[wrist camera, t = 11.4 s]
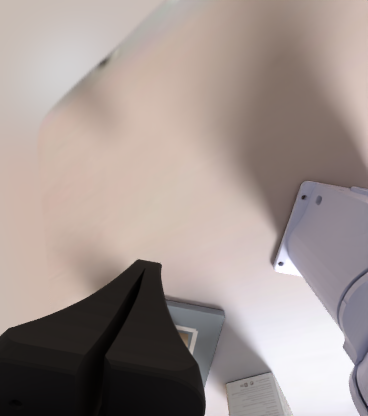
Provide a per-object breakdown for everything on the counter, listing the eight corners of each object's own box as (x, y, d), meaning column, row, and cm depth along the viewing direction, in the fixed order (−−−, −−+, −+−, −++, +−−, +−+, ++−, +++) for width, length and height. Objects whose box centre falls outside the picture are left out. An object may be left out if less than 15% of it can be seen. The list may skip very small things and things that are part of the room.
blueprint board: (112, 289, 25) (109, 295, 24) (224, 310, 25) (224, 316, 24) (106, 369, 29) (103, 376, 29) (202, 387, 29) (202, 395, 28)
